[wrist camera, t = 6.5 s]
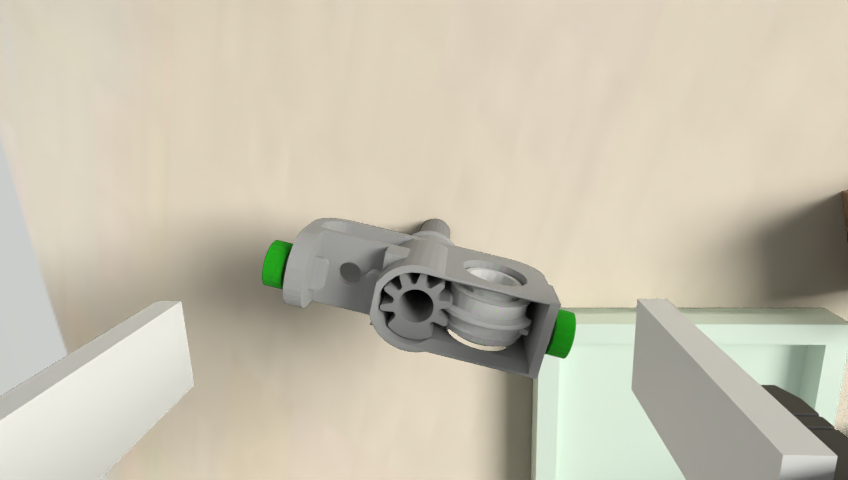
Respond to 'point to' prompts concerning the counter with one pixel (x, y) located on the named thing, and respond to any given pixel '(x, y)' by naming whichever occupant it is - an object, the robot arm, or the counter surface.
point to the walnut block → (845, 208)
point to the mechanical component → (426, 292)
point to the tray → (621, 411)
